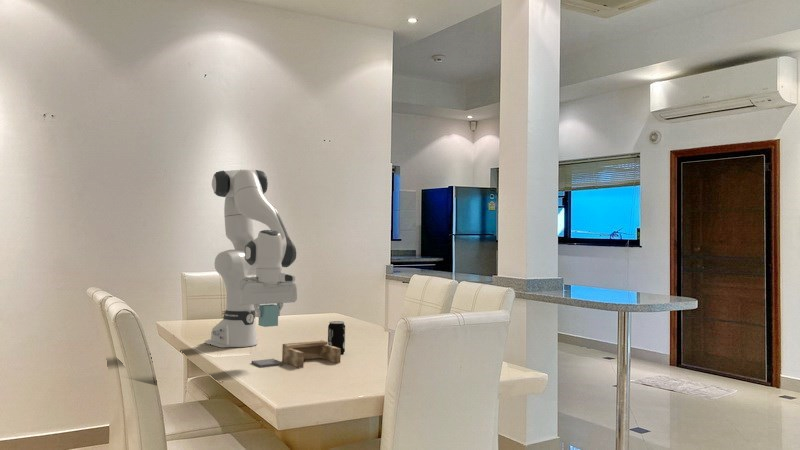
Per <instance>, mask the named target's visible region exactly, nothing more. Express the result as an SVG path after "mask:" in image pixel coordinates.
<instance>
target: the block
mask: <svg viewBox="0 0 800 450" xmlns="http://www.w3.org/2000/svg"><path fill="white" fill-rule="evenodd" d="M258 308H259V310H260V312H263V314H262V315H263V316H262V317H258V323H257V325H258V326H260V327H264V328H268V327H278V326H279V316H278V305H277V304H274V303H271V304H260V307H258Z"/></svg>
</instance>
